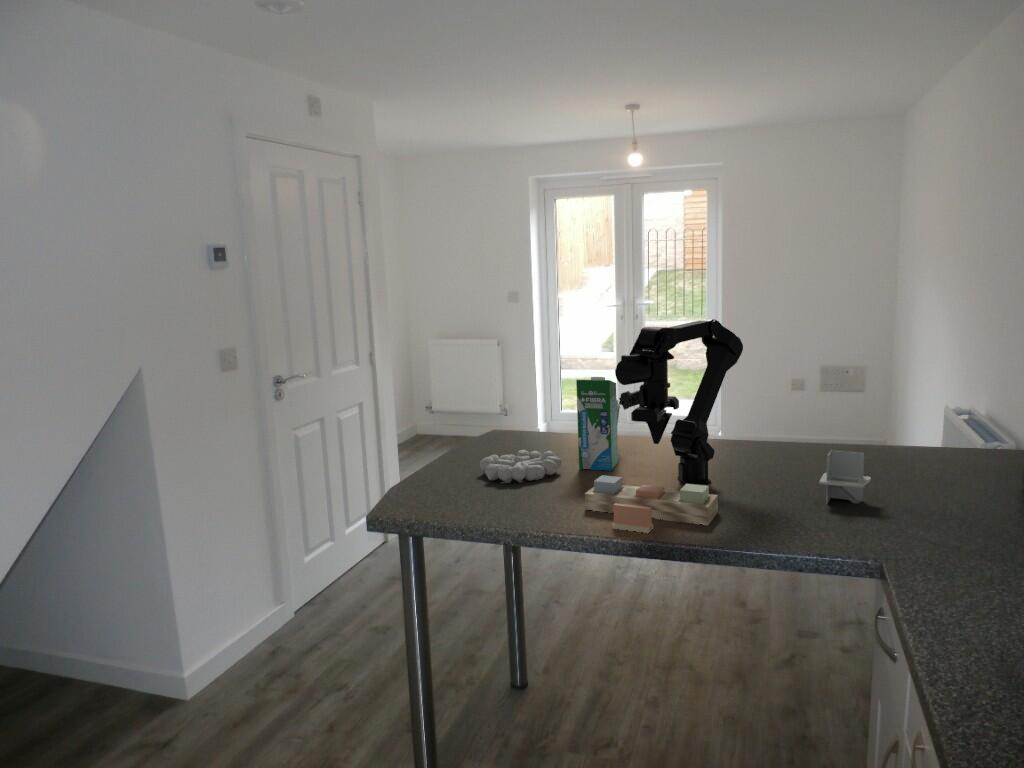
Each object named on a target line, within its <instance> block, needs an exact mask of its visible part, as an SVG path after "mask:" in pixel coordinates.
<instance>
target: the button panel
mask: <svg viewBox="0 0 1024 768" xmlns="http://www.w3.org/2000/svg"><path fill="white" fill-rule="evenodd" d="M639 487H640V486H635V485H627V484H622V490H621V491H620V492H618V493H617V494H616V495H615V494H606V493H597V492H594V486H593V487H592V488H590V489H588V490H587V491H586V492H584V510H585V509H586V510H585V511H587V510H594V511H593V512H595V511H601V512H600V513H603V512H608V513H607V514H611V513H614V511H613V505H614V504H615V503H618V504H627V505H636V506H644V507H652V518H655V519H654V520H660V519H661V520H662V519H663V520H662V521H668V522H676V523H677V522H678V523H686V524H692V523H693V525H700V524H702V525H703V526H709V525H710V524H711V522H712V521H713V519H714V518H715V517H716V515H717V514H718V513H719V494H713V493H711V494H710V493H709V499H708V501H707V502H706V503H705V504H696V503H687V502H680V490H676V489H675V490H673V489H667V488H664V495H663V496H662V497H661V498H660V499H651V498H642V497H636V490H637V489H638V488H639Z"/></svg>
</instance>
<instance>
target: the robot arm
mask: <svg viewBox="0 0 1024 768" xmlns="http://www.w3.org/2000/svg"><path fill="white" fill-rule="evenodd" d="M696 339H701V343H702V344H703V346H705V347H706V350H705V351H706V352H705V358H706V363H707V365H706V367H705V371H704V373H703V376H702V378H701V381H700V383H699V385H698V389H697V391H696V394H695V396H694V399H693V401H692V404H691V406H690V408H689V411H688V414H687V416H685V417H684V418H683V419H680V418H677V419H676V421H675V424H674V427H673V429H672V431H671V432H670V434H671V437H670V443H671V445H672V449H673V452H674V455H675V456H676V457H679V462H678V464H677V465H678V466H677V467H678V471H677V472H678V476H677V479H678V480H679V481H681V482H682V483H684V485H685V484H695V485H703V484H710V483H712V480H711V479H709V461H710V460H712V459H714V456H715V449H714V447H712V446H711V445H710V443H709V442H708V439H709V435H710V434H709V430H708V429H709V428H708V426H707V425H708V420H709V417H710V415H711V412H712V410H713V408H714V405H715V403H716V400H717V397H718V395H719V392H720V390H721V387H722V385H723V381H724V379H725V376H726V373H727V372H728V371H729V370H730V369H732V368H733V366H734V365H736V364H737V363H738V360H739V359H740V357H741V356H742V353H743V350H744V345H743V342H742V340H741V338H740V337H739V336H737V335H736V333H734V332H732V331H731V330H730V329H728V328H727V327H726V326H723V325H722V323H720V321H718V320H717V319H715V318H714V319H712V318H701V319H699V320H694V321H691V322H685V323H682V324H678V325H677V324H676V325H673V326H669V327H668V326H665V327H664V326H663V327H662V326H645V327H642V328H641V329H640V332H639V334H638V336H637V338H636V339H635V342H634V344H633V346H632V348H631V350H630V352H629V355H628V354H627V355H626V354H623V355H621V356H620V358H621V359H620V361H619V362H618V363H617V365H616V367H615V370H614V374H615V377H616V381H618V383H619V384H620V385H623V386H628V385H633V384H640V383H642V384H640V386H639V390H636V391H633V392H630V391H629V390H627V391H624V392H621V393H620V397H619V398H618V403H619V404H620V405H621V406H622V408H623V410H624V411H625V410H628V409H629V408H632V407H635V406H637V405H638V407H636V408H634V409H633V410H632V411H631V413H630V415H631V416H630V417H631V422H640V423H641V422H642V423H644V422H645V424H647V427H648V429H649V433H650V435H651V438H652V439H651V440H652V442H653V444H655V445H659V444H660V442H661V440H662V437H663V436H664V433H665V430H666V428H667V426H668V423H669V422H670V419H671V417H672V416H673V413H672V412H667V410H666V408H672V409H673V410H677V409H679V408H680V400H679V398H677V397H676V396H675V395H674V396H669V388H671V382H669V377H668V376H669V375H668V372H669V371H668V367H669V366H668V362H669V361H670V360H674V359H675V356H674V355H673V354H672V353H671V352H670V350H672V349H674V348H675V347H676V345H679V344H680V343H684V342H688V341H692V340H696Z"/></svg>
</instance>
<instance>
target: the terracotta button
mask: <svg viewBox="0 0 1024 768" xmlns="http://www.w3.org/2000/svg"><path fill="white" fill-rule="evenodd" d="M638 487H639V488H638V489H637V490H636V497H642V498H651V499H660V498H661V497H662V496H663V495H664V489H665V486H663V485H662V486H661V485H651V484H641V485H640V486H638Z"/></svg>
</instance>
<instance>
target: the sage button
mask: <svg viewBox="0 0 1024 768" xmlns="http://www.w3.org/2000/svg"><path fill="white" fill-rule="evenodd" d="M709 489H710V486H709V485H705V484H685V483H684V485H683V486H682V488H680V490H679V491H680V502H687V503H696V504H705V503H706V502H707V501H708V499H709V494H710V490H709Z"/></svg>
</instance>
